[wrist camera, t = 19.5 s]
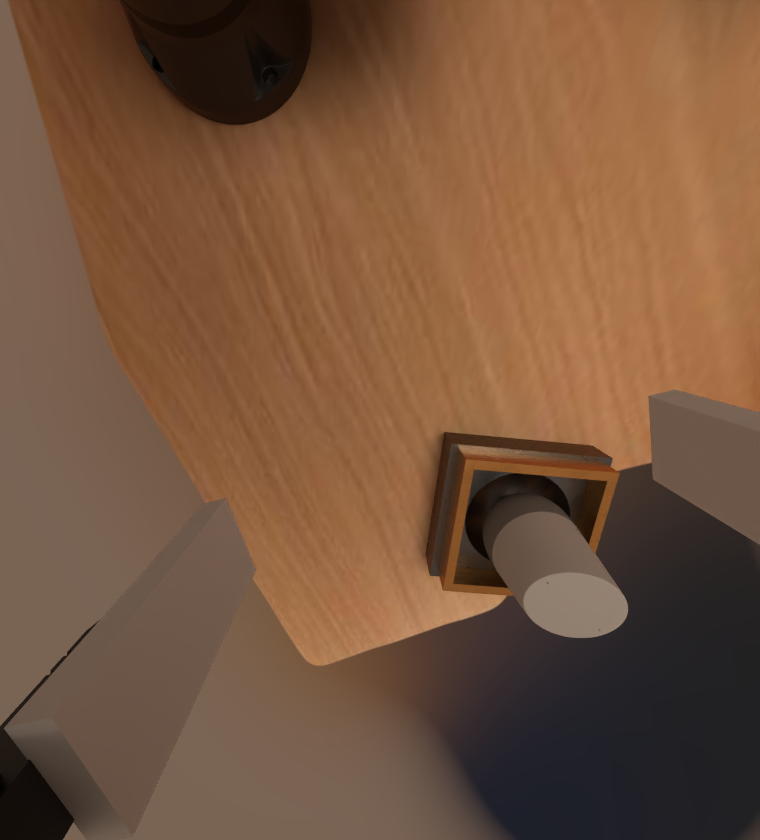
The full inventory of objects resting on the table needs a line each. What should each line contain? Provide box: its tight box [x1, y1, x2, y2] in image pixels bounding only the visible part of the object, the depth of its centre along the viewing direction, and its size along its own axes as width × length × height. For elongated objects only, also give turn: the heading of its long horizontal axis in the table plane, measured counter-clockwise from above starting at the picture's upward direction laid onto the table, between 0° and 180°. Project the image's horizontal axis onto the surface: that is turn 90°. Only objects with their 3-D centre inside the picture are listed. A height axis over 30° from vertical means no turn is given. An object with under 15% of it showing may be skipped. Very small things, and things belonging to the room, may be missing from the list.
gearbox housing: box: [426, 432, 619, 596], centre depth 44 cm, size 18×17×7 cm
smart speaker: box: [483, 493, 628, 638], centre depth 36 cm, size 10×9×14 cm
